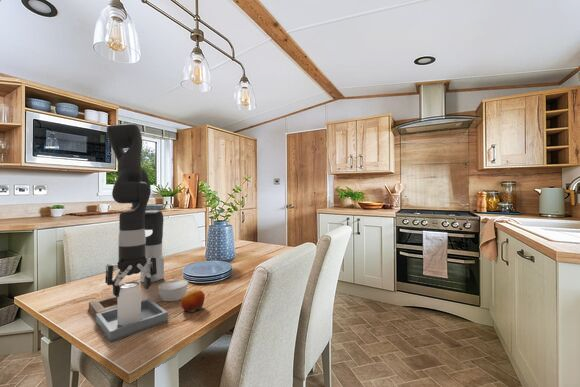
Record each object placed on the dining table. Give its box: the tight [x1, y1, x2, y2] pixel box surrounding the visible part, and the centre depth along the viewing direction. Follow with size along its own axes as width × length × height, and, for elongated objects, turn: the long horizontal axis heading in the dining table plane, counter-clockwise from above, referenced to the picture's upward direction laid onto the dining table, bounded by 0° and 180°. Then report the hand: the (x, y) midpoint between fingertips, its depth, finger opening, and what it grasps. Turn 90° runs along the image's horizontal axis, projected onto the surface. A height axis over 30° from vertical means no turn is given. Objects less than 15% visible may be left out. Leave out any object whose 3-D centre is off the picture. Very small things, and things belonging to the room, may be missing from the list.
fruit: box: [180, 289, 206, 313], centre depth 93 cm, size 8×8×8 cm
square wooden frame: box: [88, 295, 117, 318], centre depth 94 cm, size 12×12×2 cm
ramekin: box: [157, 279, 189, 302], centre depth 104 cm, size 11×11×5 cm
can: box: [116, 281, 142, 326], centre depth 83 cm, size 6×6×12 cm
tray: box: [95, 298, 169, 343], centre depth 84 cm, size 16×16×3 cm
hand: (132, 292), depth 84 cm, fingers open, 8 cm apart
